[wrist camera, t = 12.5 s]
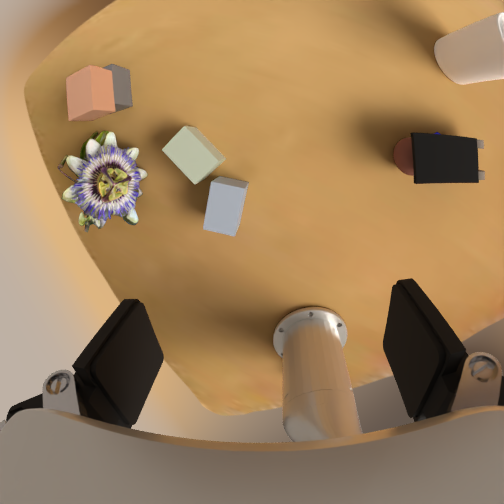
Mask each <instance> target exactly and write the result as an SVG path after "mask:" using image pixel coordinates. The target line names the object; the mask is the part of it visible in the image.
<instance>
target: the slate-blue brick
mask: <svg viewBox="0 0 504 504" xmlns="http://www.w3.org/2000/svg"><path fill="white" fill-rule="evenodd" d="M248 184H249V182H245V181H241V180H236V179H231V178H226V177H222V176H219V177H217V178H216V179H214V180H213V181H211V186H210V191H209V197H208V203H207V208H206V214H205V220H204V226H203V229H204V230H209V231H213V232H218V233H222V234H226V235H231V236H235V235H236V232H237V230H238V227H239V225H240V220H241V216H242V211H243V206H244V202H245V197H246V193H247V188H248Z"/></svg>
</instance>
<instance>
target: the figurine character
mask: <svg viewBox="0 0 504 504" xmlns="http://www.w3.org/2000/svg"><path fill="white" fill-rule="evenodd" d="M478 148H482V149H484V142H483V140H477V139H476V138H468V137H460V136H451V135H441V134H440V133H438V132H436V133H434V134H428V133H411V138H404V139H402V140H400V141H399V142H398V143H397V144H396V146H395V148H394V161H395V163H396V165H397V167H398V168H399V169H400V170H401V171H402V172H403V173H405V174H407V175H414V183H416V184H424V183H479V180H485V171H482V170H478Z"/></svg>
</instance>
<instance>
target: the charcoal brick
mask: <svg viewBox="0 0 504 504" xmlns="http://www.w3.org/2000/svg"><path fill="white" fill-rule="evenodd" d="M103 68H104V69H107V70H110V71H112V79H113V91H114V102H115V112H117V111H120V110H123V109H126V108H129V107H132V106H133V105H132V94H131V82H130V70H128V69H125V68H123V67H120V66H117V65H114V64H110V65H108V66H106V67H103ZM113 113H114V112H113ZM110 114H111V113H110Z"/></svg>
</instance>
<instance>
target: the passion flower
mask: <svg viewBox="0 0 504 504" xmlns="http://www.w3.org/2000/svg"><path fill="white" fill-rule="evenodd" d="M97 135H98V132H95V133H93V135H92V136H91V137H90V138H89V139H88V140H87V141H86V142H85V143H83V146H82V148H81V153H80V158H78V157H74V156H68V155H66V156H65V157H64V159H63V160H62V161H61V163H60V164H59V166H58V169H59V170H60V168H63V165H64V163H65V161H67V164H68V167H69V168H70V170H71V171H72V172H74V173H75V174H76V176H77V177H79V179H76V180H78V181H75V180H73V179H72V178H71V177H69V176H67V175H66V174H65V173H63V172H62V171H61V170H60V172H61V173H63V174H64V175H65V176H66V177H68V178H69V179H71V180H72V181H74V182H75V184H74V185H72V186H70V187H69V188H68V189H66V190H65V191H64V192H63V194H62V198H61V199H63V200H65V201H67V202H72V203H75V204H77V205H78V206H79V207H80V208H81V209H82V210H83V211H84V215H87V218H84V215H83V213H82V212H81V213H80V216H79V224H80V225H81V226H83V225H84V224H85V232H88V230H89V226H90V225H91V224H94V225H96V226H97V227H98V229H100V228H102V227H103V226H104V225H105V223H106V220H107V218H108V217H109V218H110V219H111V215H117V216H120V217H123V220H125V221H126V222H127V223H128V224H131V225H136V224H137V223H138V217H137V214H136V211H135V209H134V208H135V205H136V204H135V202H136V200H137V198H138V197H140V196H141V195H142V194H143V193H142V191H141V189H139V181H140V180H143V179H144V178H146V177H147V176H148V174H147V173H146V171H145V170H143V169H140V168H138V167H136V165H137V164H136V161H135V160H136V159H137V157H138V153H139V149H138V148H129V147H128V148H127V149H126V148H125V149H120V148H118V146H117V141H116V136H115V134H114V133H113V132H108V131H102V132H101V133H100V134H99V135H98V136H97ZM95 136H97V137H96V138H95ZM94 138H95V140H94ZM90 219H91V220H90ZM89 220H90V221H89Z"/></svg>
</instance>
